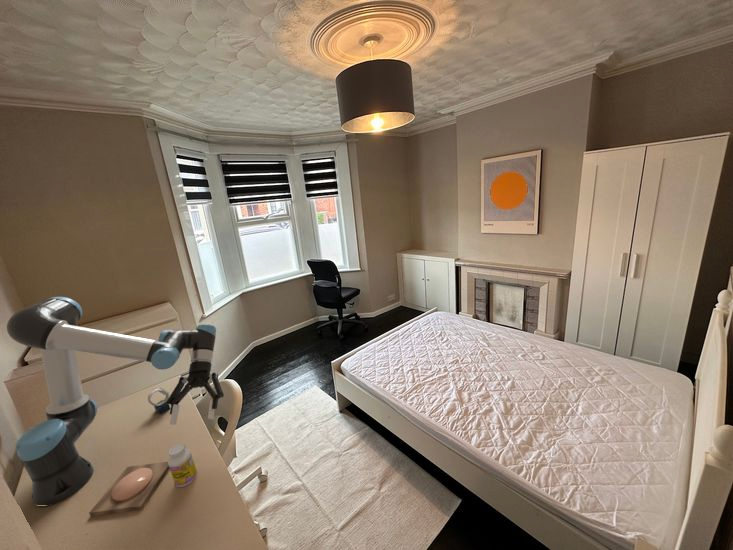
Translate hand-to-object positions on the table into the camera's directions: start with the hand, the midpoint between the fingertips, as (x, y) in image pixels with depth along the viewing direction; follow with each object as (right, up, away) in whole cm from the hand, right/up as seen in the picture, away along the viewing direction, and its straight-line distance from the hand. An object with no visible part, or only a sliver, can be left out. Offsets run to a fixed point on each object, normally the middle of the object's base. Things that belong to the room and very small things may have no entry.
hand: (191, 421), depth 106 cm
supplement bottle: (+2, -17, -6) cm, 18 cm away
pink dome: (-15, -18, -7) cm, 24 cm away
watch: (-33, -11, +32) cm, 47 cm away
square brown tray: (-15, -19, -7) cm, 25 cm away
